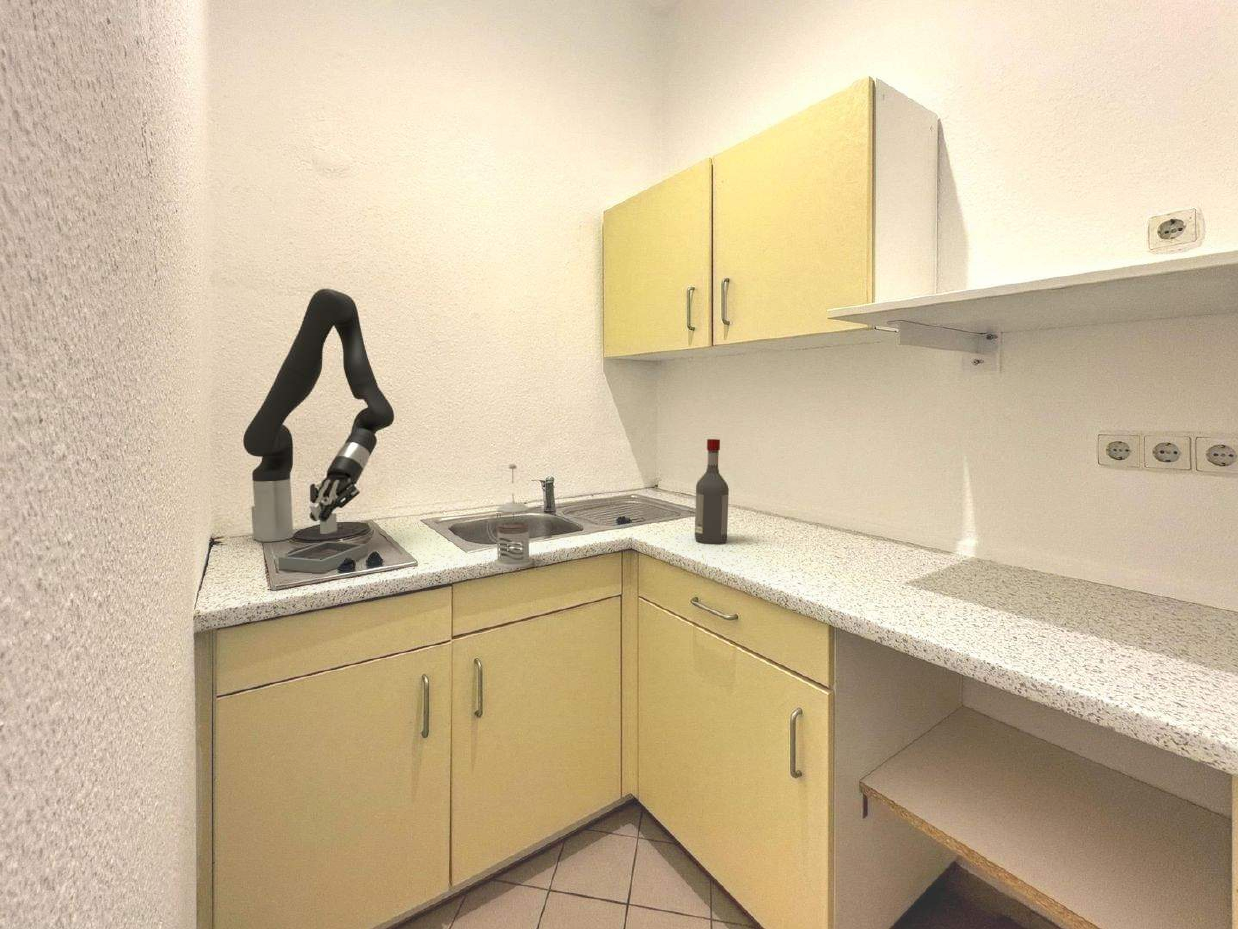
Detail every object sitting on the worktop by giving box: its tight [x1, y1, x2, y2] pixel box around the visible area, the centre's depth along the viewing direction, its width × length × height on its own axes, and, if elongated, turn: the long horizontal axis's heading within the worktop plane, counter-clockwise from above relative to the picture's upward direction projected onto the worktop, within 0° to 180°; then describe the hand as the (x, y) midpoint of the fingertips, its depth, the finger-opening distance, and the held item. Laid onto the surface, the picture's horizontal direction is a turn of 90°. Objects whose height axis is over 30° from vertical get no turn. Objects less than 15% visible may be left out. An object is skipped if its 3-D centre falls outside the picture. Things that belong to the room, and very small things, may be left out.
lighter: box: [309, 503, 338, 535], centre depth 139 cm, size 7×2×8 cm, turn 168°
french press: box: [486, 463, 534, 569], centre depth 141 cm, size 10×12×25 cm
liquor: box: [694, 438, 730, 545], centre depth 165 cm, size 9×9×30 cm
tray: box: [277, 540, 368, 575], centre depth 140 cm, size 12×16×3 cm
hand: (317, 519), depth 137 cm, fingers closed on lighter, 2 cm apart
